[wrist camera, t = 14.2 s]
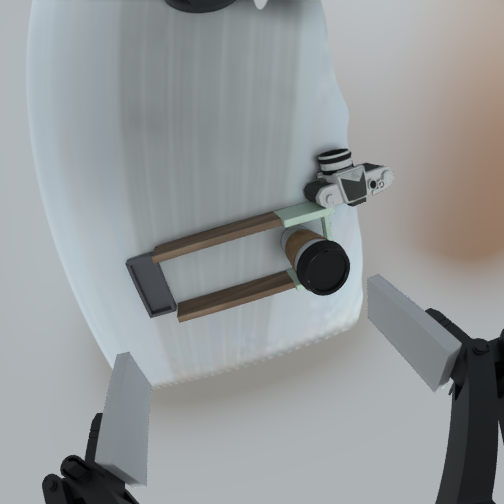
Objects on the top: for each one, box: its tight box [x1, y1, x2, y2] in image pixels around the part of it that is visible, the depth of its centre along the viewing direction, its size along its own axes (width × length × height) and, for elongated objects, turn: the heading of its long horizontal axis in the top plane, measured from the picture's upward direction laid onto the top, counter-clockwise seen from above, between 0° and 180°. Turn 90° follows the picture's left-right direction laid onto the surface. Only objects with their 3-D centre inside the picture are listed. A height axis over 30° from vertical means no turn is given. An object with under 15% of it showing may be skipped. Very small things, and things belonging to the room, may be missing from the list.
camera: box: [303, 149, 394, 209], centre depth 45 cm, size 16×9×10 cm, turn 110°
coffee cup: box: [281, 225, 350, 296], centre depth 46 cm, size 8×8×15 cm
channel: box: [152, 212, 295, 322], centre depth 50 cm, size 13×22×5 cm, turn 104°
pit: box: [126, 251, 177, 318], centre depth 50 cm, size 12×6×2 cm, turn 14°
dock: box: [273, 201, 335, 291], centre depth 50 cm, size 13×10×6 cm
